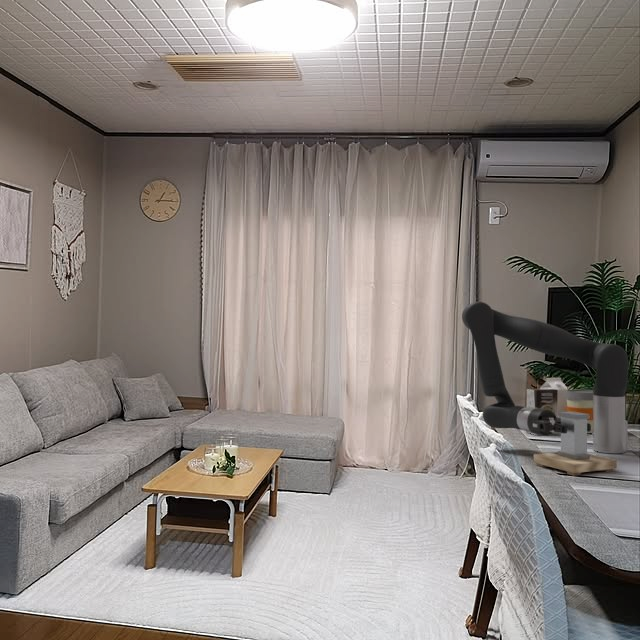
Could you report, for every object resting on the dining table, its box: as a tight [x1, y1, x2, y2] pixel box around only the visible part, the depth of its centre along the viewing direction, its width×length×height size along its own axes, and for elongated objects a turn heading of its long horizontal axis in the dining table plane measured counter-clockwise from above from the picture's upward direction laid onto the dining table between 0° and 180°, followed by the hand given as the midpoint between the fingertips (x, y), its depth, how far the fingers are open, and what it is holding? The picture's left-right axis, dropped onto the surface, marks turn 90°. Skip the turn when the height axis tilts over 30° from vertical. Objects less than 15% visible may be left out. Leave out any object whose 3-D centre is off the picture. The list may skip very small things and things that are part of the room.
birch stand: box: [533, 451, 618, 477], centre depth 187 cm, size 15×15×3 cm
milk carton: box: [539, 377, 569, 417], centre depth 261 cm, size 7×7×19 cm
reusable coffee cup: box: [566, 388, 593, 433], centre depth 251 cm, size 13×13×15 cm
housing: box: [557, 411, 591, 460], centre depth 187 cm, size 4×7×12 cm, turn 24°
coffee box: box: [526, 388, 558, 436], centre depth 247 cm, size 9×6×16 cm
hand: (578, 428), depth 186 cm, fingers open, 8 cm apart
